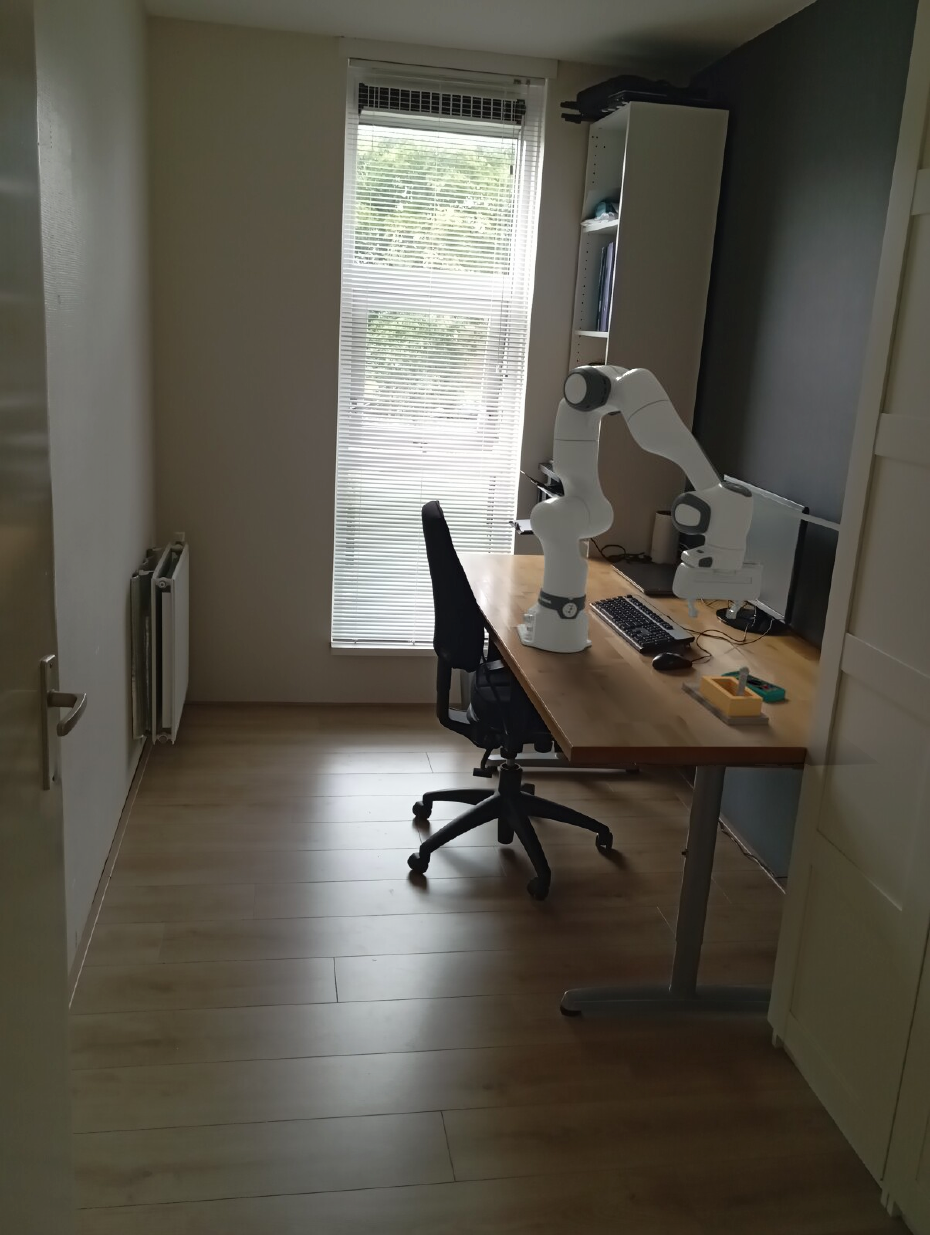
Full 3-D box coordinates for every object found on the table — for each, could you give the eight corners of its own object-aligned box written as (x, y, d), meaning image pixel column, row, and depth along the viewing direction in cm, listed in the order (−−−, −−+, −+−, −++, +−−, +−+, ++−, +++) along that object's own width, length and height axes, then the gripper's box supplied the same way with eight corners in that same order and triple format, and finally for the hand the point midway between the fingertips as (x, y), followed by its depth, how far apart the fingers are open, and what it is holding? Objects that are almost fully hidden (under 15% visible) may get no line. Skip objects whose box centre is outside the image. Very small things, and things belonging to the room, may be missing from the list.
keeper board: (681, 688, 241) (689, 641, 237) (719, 688, 243) (727, 642, 240) (727, 724, 220) (736, 674, 217) (768, 724, 223) (777, 674, 220)
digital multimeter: (767, 705, 237) (769, 693, 236) (718, 683, 248) (720, 672, 247) (786, 700, 241) (789, 689, 240) (737, 679, 252) (739, 668, 251)
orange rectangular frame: (699, 692, 234) (701, 676, 233) (729, 692, 236) (732, 676, 235) (728, 715, 222) (731, 698, 220) (759, 715, 224) (763, 698, 222)
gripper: (757, 555, 229) (745, 614, 233) (675, 552, 224) (664, 611, 228) (772, 563, 223) (759, 623, 228) (688, 559, 218) (677, 620, 222)
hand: (711, 617), depth 228 cm, fingers open, 8 cm apart
